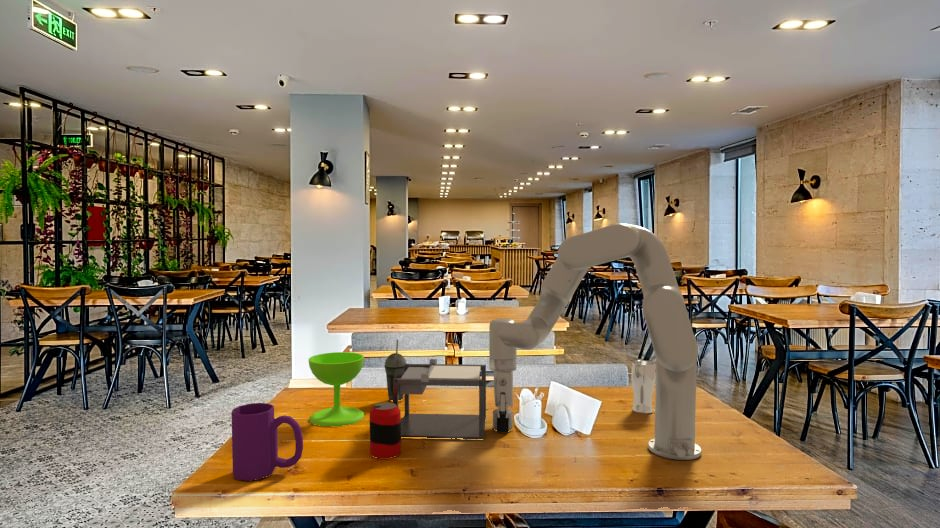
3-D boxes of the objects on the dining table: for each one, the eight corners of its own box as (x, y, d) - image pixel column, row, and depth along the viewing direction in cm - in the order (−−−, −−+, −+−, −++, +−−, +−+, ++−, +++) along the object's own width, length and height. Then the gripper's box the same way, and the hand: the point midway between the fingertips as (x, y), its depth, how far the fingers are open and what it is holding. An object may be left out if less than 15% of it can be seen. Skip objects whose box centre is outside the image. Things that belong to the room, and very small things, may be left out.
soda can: (367, 450, 140) (366, 403, 140) (396, 446, 143) (396, 400, 142) (373, 461, 133) (372, 412, 132) (404, 457, 136) (403, 408, 135)
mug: (240, 465, 131) (239, 403, 130) (307, 463, 132) (306, 401, 131) (226, 483, 122) (224, 415, 121) (298, 480, 123) (297, 413, 122)
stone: (512, 433, 152) (512, 415, 152) (492, 432, 153) (492, 414, 152) (512, 426, 158) (512, 408, 157) (493, 425, 158) (493, 408, 158)
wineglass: (369, 422, 161) (369, 361, 160) (312, 430, 155) (311, 366, 154) (359, 407, 175) (358, 350, 174) (306, 413, 170) (305, 354, 169)
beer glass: (657, 414, 168) (658, 365, 167) (634, 414, 168) (635, 365, 167) (650, 407, 175) (651, 360, 174) (628, 407, 175) (628, 359, 174)
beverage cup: (380, 401, 181) (379, 340, 180) (393, 396, 187) (392, 337, 186) (398, 405, 177) (398, 342, 176) (411, 399, 184) (411, 339, 183)
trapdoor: (478, 395, 148) (478, 377, 147) (399, 394, 149) (399, 376, 149) (480, 381, 162) (480, 365, 162) (409, 380, 163) (409, 364, 163)
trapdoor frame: (483, 441, 146) (483, 375, 145) (393, 439, 148) (392, 373, 147) (485, 418, 165) (485, 359, 164) (405, 416, 166) (405, 358, 165)
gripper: (517, 371, 145) (516, 439, 146) (515, 357, 162) (515, 418, 163) (488, 371, 146) (488, 438, 147) (490, 356, 163) (490, 417, 164)
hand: (502, 427), depth 155 cm, fingers closed on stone, 5 cm apart
